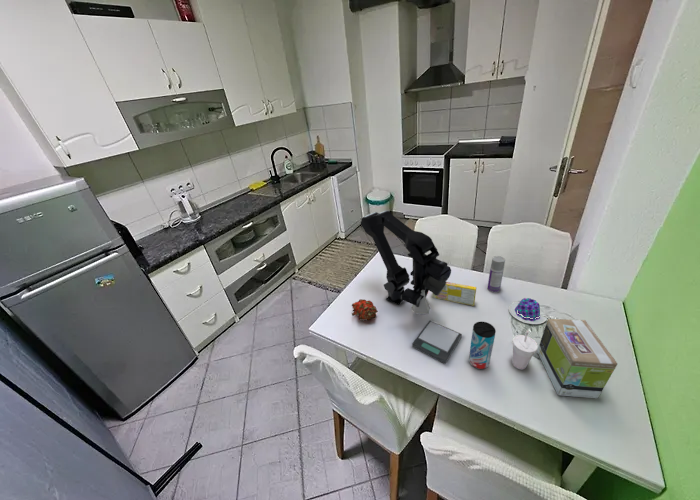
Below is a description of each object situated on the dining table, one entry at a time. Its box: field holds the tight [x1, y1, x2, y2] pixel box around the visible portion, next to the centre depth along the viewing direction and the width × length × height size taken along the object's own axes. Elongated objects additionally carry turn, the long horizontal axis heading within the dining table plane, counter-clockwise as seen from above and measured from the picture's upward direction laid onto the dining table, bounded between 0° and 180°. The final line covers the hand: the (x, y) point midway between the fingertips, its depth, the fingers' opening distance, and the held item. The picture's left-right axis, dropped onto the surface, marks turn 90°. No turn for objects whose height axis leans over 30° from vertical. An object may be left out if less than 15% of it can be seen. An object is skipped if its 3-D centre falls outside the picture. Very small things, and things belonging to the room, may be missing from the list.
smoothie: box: [511, 330, 539, 370], centre depth 82 cm, size 6×6×14 cm
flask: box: [411, 290, 431, 315], centre depth 104 cm, size 7×7×10 cm
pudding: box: [508, 297, 548, 325], centre depth 101 cm, size 12×12×5 cm
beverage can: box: [468, 321, 497, 370], centre depth 84 cm, size 6×6×15 cm
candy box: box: [431, 281, 477, 307], centre depth 111 cm, size 16×2×8 cm, turn 63°
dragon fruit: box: [351, 298, 379, 322], centre depth 110 cm, size 8×8×12 cm
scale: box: [411, 320, 463, 365], centre depth 96 cm, size 12×13×2 cm
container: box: [487, 255, 506, 293], centre depth 111 cm, size 5×5×15 cm
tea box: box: [536, 318, 618, 399], centre depth 77 cm, size 15×10×15 cm, turn 170°
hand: (420, 302), depth 105 cm, fingers closed on flask, 5 cm apart
